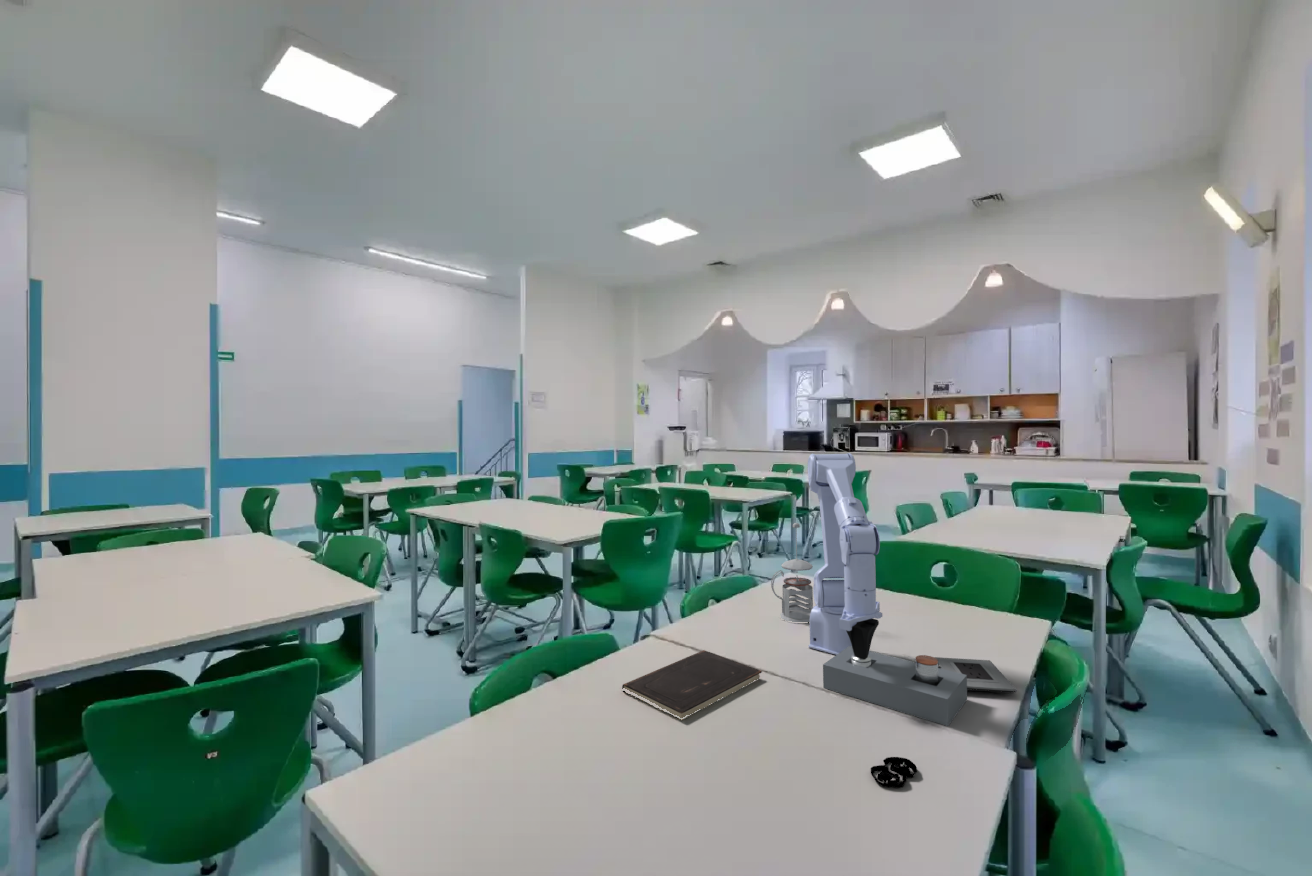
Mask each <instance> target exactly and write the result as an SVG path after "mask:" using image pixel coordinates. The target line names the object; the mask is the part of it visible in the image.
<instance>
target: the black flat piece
mask: <svg viewBox="0 0 1312 876" xmlns="http://www.w3.org/2000/svg"><path fill="white" fill-rule="evenodd" d="M882 761H883V763H884V764H883V765H881V764H880V765H873V766H872V767H870V775H871V777H873V779H874V781H875V782H876V783H877V784H878V785H879V786H881V787H884V788H895V789H901V788H903V787H904V785H905V784H906V783H907V779H912V778H914V777H915V774H916V773H918V768H917V765H916V764H915V763H914V762H913V761H912V760H911V759H908V758H906V757H899V756H890V757H886V758H884V759H883V760H882ZM889 764H890V766H888V765H889ZM876 772H877V773H876ZM911 772H913V773H911ZM875 773H876V776H877V777H876V776H875V775H874V774H875ZM894 778H895V779H894ZM901 778H902V779H901ZM901 780H902V781H901Z"/></svg>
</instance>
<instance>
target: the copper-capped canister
mask: <svg viewBox="0 0 1312 876" xmlns="http://www.w3.org/2000/svg"><path fill="white" fill-rule="evenodd" d="M915 662H916V681H918V682H922V683H926V684H929V685H933V686H937V685H938V668H939V665H938V660H937V659H936V658H934V656H931V655H926V654H922V655H916V656H915Z"/></svg>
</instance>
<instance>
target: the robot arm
mask: <svg viewBox="0 0 1312 876" xmlns="http://www.w3.org/2000/svg"><path fill="white" fill-rule="evenodd" d="M856 469H857V467H856V459H855V457H854V455H853V454H852V452H846V453H823V454H822V453H819V454H815V453H811V454H809V456H808V458H807V476H808V477H807V478H808V485H809V490H810V491H811V492H813V493H815V494H816V496H817V499H818V502H819V511H820V512H819V514H820V523H821V535H822V536H821V537H822V544H823V545H822V547H823V557H824V559H823V560H824V565H823V566H822V567H820V568H819V569H817V571H815V573H814V576H813V586H812V587H813V602H814V603H815V605H813V609H812V610H811V614H810V623H809V644H808V648H809V649H813V650H816V651H821V652H825V653H829V654H833V655H834V656H836V655H837V654H839V653H840V652H841V651H843V650H844V649H846V648H847V647H848V646H852V648H853V652H854V656H855V657H857V658H861V659H866V658H867V657H868V654H869V651H871V644H872V640H873V637H874V634H875V632H876V630H877V628H878V626H879V624H880V623H879V620H878V619H881V618H883V612H881V611H880V609H881V608H880V607H881V606H880V605H881V603H880V601H877V595H876V594H877V590H876V589H877V588H876V587H877V586H876V585H877V584H876V579H877V578H876V577H877V576H876V556H878V554H879V553H880V548H881V547H880V546H881V540H880V534H879V530H878V527H877V525H876V524H874V523H873V522H872V521H869V518H868V516H867V513H866V511H865V508H864V505H863V502H862V500H860V499H859V498H856V497H855V495H854V490H853V485H852V484H853V481H854V478H855V477H856Z"/></svg>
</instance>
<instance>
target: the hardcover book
mask: <svg viewBox="0 0 1312 876" xmlns="http://www.w3.org/2000/svg"><path fill="white" fill-rule="evenodd" d="M761 673H763V671H762V670H761V669H758V668H755V667H752V666H750V665H747V664H744V663H741V662H738V661H735V660H733V659H730V658H727V657H724V656H721V655H718V654H716V653H712V652H711V651H707V650H705V649H704V650H701V651H698V652H695V653H694V654H691V655H689V656H687V657H685V658H682V659H680V660H676V661H675V662H673V663H671V664H668V665H666V666H663V667H660V668H659V669H657V670H653V671H651V672H649V673H647V674H644V675H641V676H640V677H637V678H635V679H633V680H631V681H628V682H626V683H623V684H622V687H621V690H622V689H623V688H625V689H627V690H629V691H630V692H633V693H635V694H637V695H638V696H641V697H643V698H645V699H647V700H649V701H650V702H652V703H655V704H656V705H658V706H659V707H661V708H662V709H666V710H667V711H669V712H670V713H672V714H674V715H677V716H679V717H680V718H683V717H685V716H686V715H690V714H692V713H694V712H695V711H697V710H699V709H702V710H704V709H705V708H704V707H706V706H708V705H709V704H711V703H714V702H716V701H717V700H718V699H721V698H722V697H725V696H727V695H729V694H731V693H732V692H734V693H736V692H738V691H740V690H741V689H740V688H742V687H743V686H746V685H748V684H749V683H751V682H753V681H754V680H757V679H759V678H760V677H761V675H760V674H761ZM759 680H760V679H759ZM757 681H758V680H757ZM753 683H754V682H753ZM751 684H752V683H751ZM749 685H750V684H749ZM749 685H748V686H749ZM746 687H747V686H746ZM739 689H740V690H739ZM742 689H743V688H742ZM737 690H738V691H737ZM735 691H736V692H735ZM732 694H733V693H732ZM732 694H731V695H732ZM729 696H730V695H729ZM727 697H728V696H727ZM725 698H726V697H725ZM721 700H722V699H721ZM717 702H718V701H717ZM717 702H716V703H717ZM714 704H715V703H714ZM708 707H709V706H708ZM703 708H704V709H703ZM706 708H707V707H706Z"/></svg>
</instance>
